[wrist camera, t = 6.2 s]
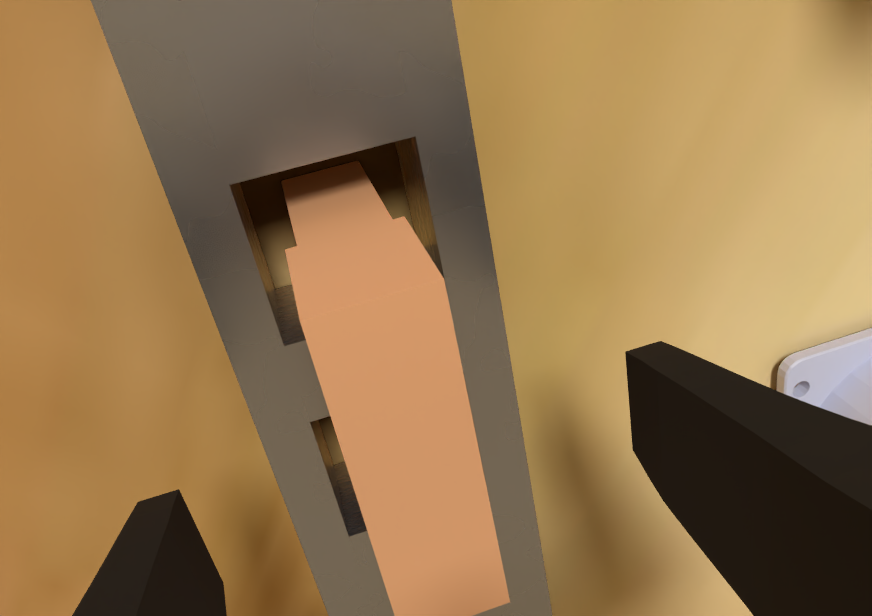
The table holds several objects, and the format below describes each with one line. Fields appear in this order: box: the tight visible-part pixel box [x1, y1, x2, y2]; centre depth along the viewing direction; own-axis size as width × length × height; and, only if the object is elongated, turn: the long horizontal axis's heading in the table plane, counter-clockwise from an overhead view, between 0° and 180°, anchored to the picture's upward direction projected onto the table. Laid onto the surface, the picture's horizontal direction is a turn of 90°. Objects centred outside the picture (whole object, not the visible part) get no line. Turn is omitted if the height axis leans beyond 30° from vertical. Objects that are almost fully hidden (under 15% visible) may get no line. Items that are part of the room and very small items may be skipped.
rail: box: [91, 0, 552, 616], centre depth 16 cm, size 24×5×2 cm, turn 11°
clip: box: [281, 161, 510, 616], centre depth 14 cm, size 7×2×6 cm, turn 11°
